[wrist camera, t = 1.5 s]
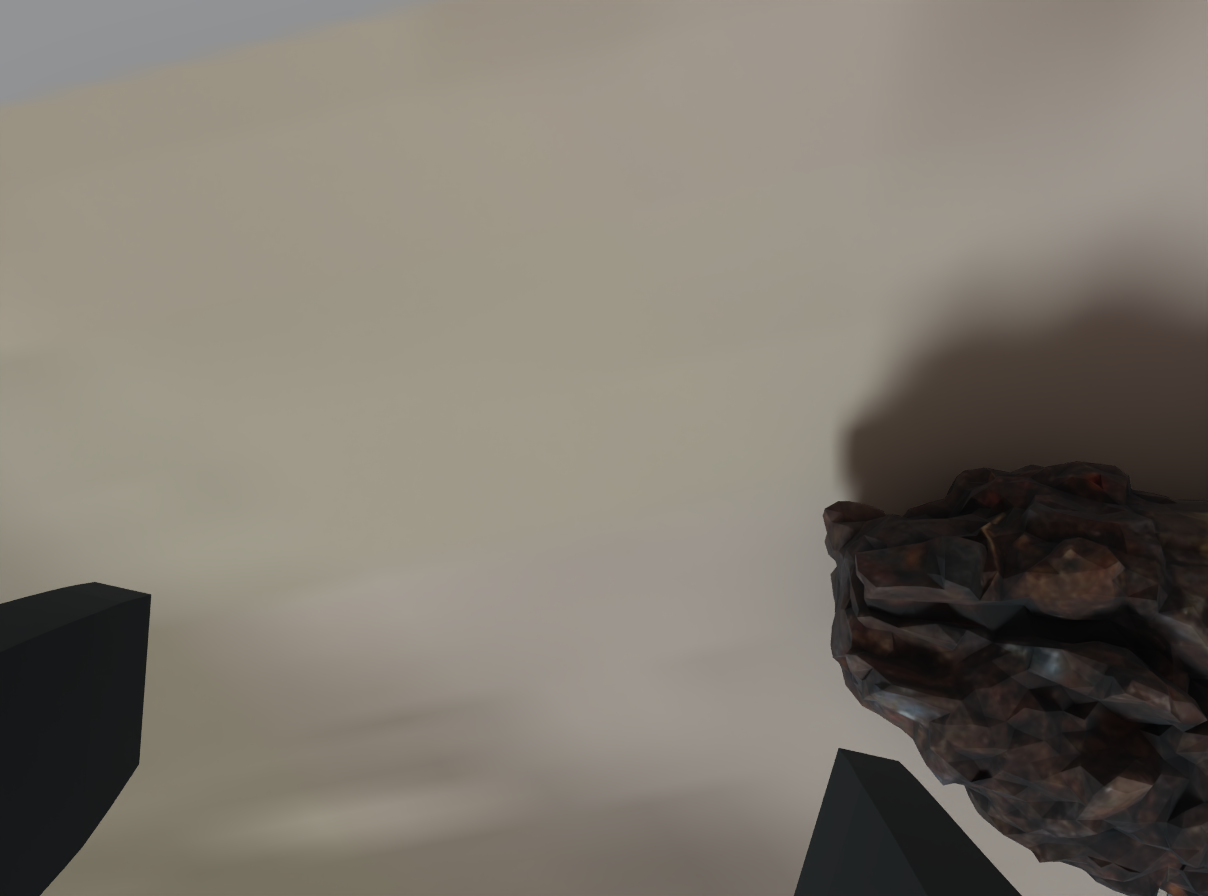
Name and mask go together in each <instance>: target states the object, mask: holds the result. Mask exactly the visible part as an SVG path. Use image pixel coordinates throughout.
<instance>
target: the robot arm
mask: <svg viewBox="0 0 1208 896" xmlns="http://www.w3.org/2000/svg"><path fill="white" fill-rule="evenodd" d="M150 604H151V594H146V593H142V592H137V591H133V590H128V589H124V588H119V587H115V586H110V585H106V584H101V583H97V582H92V583H86V584H80V585H74V586H69V587H65V588H60V589H56V590H52V591H48V592H44V593H40V594H36V595H32V596H28V597H24V598H21V599H17V600H13V601H10V602H6V603H2V604H0V896H40V895H41V894H42V893H43V891H44V890H45V889H46V888H47V887H48V886H49V885H50V883H51V882H52V881H53V880H54V879H55V878H56V877H57V876H58V874H59V873H60V872H61V871H62V870H63V869H64V868H65V867H66V865H67V864H68V863H69V862H70V861H71V860H72V858H73V857H74V856H75V855H76V854H77V853H78V851H79V850H80V849H81V848H82V847H83V845H84V844H85V843H86V841H87V840H88V838H89V837H90V836H91V834H92V833H93V831H94V830H95V829H96V827H97V826H98V824H99V823H100V821H101V820H102V819H103V817H104V816H105V814H106V813H107V812H108V810H109V809H110V807H111V806H112V804H113V803H114V801H115V800H116V798H117V797H118V795H119V794H120V792H121V791H122V789H123V788H124V786H125V785H126V783H127V782H128V780H129V779H130V777H131V776H132V774H133V772H134V771H135V769H136V768H137V766H138V765H139V758H140V744H141V730H142V716H143V702H144V688H145V674H146V660H147V646H148V632H149V618H150ZM794 896H1022V895H1021V894H1020V893H1019V892H1018V891H1017V890H1016V889H1015V888H1014V887H1013V886H1012V885H1011V884H1010V882H1009V881H1008V880H1007V879H1006V878H1005V877H1004V876H1003V875H1002V874H1001V873H1000V872H999V870H998V869H997V868H996V867H995V866H994V865H993V864H992V863H991V862H990V860H989V859H988V858H987V857H986V856H985V855H984V854H983V853H982V852H981V850H980V849H979V848H978V847H977V846H976V845H975V844H974V843H973V841H972V840H971V839H970V838H969V837H968V836H967V835H966V834H965V832H964V831H963V830H962V829H961V828H960V827H959V826H958V825H957V823H956V822H955V821H954V820H953V819H952V818H951V817H950V815H949V814H948V813H947V812H946V811H945V810H944V809H943V808H942V806H941V805H940V804H939V803H938V802H937V801H936V800H935V799H934V798H933V796H932V795H931V794H930V793H929V792H928V791H927V790H926V789H925V788H924V786H923V785H922V784H921V783H920V782H919V781H918V780H917V779H916V778H915V777H914V776H913V775H912V774H911V773H910V772H909V771H908V770H907V769H906V768H905V767H904V766H903V765H902V764H901V763H900V762H899V761H895V760H891V759H886V758H882V757H877V756H873V755H868V754H864V753H859V752H855V751H851V750H846V749H842V748H839V749H838V752H837V755H836V759H835V762H834V765H833V769H832V772H831V775H830V779H829V782H828V785H827V788H826V792H825V795H824V798H823V802H822V805H821V808H820V812H819V815H818V818H817V821H816V825H815V828H814V831H813V835H812V838H811V841H810V845H809V848H808V851H807V855H806V858H805V861H804V864H803V868H802V871H801V874H800V878H799V881H798V884H797V888H796V891H795V894H794Z"/></svg>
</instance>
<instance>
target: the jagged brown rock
mask: <svg viewBox="0 0 1208 896" xmlns="http://www.w3.org/2000/svg"><path fill="white" fill-rule="evenodd" d="M823 518H824V522H825V526H826V530H827V535H826V539H825V544H826V548H827V551H828V554H829V555H830V556H831V557H832V558H833V559H834V560H835V561H836V564H837V567H836V568H835V570H834V571H833V572H832V573H831V580H832V588H833V596H834V600H835V617H834V621H833V625H832V634H831V650H832V655H833V658H834V659H835V660H837V661H838V662H839V664H840V666H841V668H842V672H843V676H844V680H845V684H846V686H847V687H848V688H849V690H850V691H851V692H852V693H853V695H854V696H855V697H856V698H857V700H858V701H859V702H860V703H861V705H862V706H864V707H865V708H867V709H869V710H871V711H873V712H875V713H877V714H879V715H880V716H882V717H883V718H885V719H886V720H888V721H889V722H891V723H892V724H894V725H896V726H897V727H899V728H901V729H902V730H903V731H904V732H905V733H907V734H908V735H909V736H910V737H911V738H912V739H913V740H914V742H915V744H916V746H917V748H918V750H919V752H920V754H921V756H922V758H923V760H924V761H925V763H926V765H927V766H928V767H929V769H930V770H931V771H932V772H933V774H934V775H935V776H936V777H937V779H938V780H939V781H940V782H941V783H942V785H947V784H952V783H957V784H961V785H964V786H965V788H966V791H967V793H968V796H969V798H970V800H971V801H972V803H973V805H974V807H975V809H976V811H977V812H978V813H979V814H980V815H981V816H982V817H983V818H984V819H985V820H986V821H987V822H989V823H990V824H991V825H992V826H993V827H995V828H996V829H997V830H998V831H1000V832H1001V833H1002V834H1003V835H1005V836H1007V837H1008V838H1010V839H1012V840H1014V841H1016V842H1018V843H1019V844H1021V845H1023V846H1025V847H1026V848H1028V849H1030V850H1031V851H1032V852H1033V853H1034V855H1035V856H1036V858H1037V859H1038V861H1039V862H1040V863H1041V862H1063V863H1066V864H1069V865H1072V866H1075V867H1078V868H1081V869H1083V870H1084V871H1086V872H1087V873H1088V874H1089V875H1090V876H1091V877H1092V878H1093V879H1094V880H1095V881H1096V882H1098V883H1100V884H1102V885H1104V886H1106V887H1108V888H1110V889H1112V890H1114V891H1117V892H1120V893H1123V894H1125V895H1128V896H1157V894H1158V890H1159V888H1160V889H1162V890H1164V891H1166V892H1167V893H1169V894H1171V895H1172V896H1208V501H1194V500H1171V499H1170V498H1168V497H1166V496H1161V495H1157V494H1152V493H1147V492H1142V491H1137V490H1132V489H1131V486H1130V480H1129V476H1128V475H1127V474H1125V473H1124V472H1123V471H1121V470H1120V469H1118V468H1117V467H1116V466H1110V465H1102V464H1094V463H1086V462H1078V461H1077V462H1071V463H1066V464H1060V465H1055V466H1049V467H1045V468H1044V467H1040V466H1035V465H1029V466H1026V467H1024V468H1021V469H1019V470H1016V471H1014V472H1012V473H1008V472H1003V471H999V470H994V469H989V468H980V469H974V470H967V471H963V472H962V473H961V474H960V475H959V476H958V477H957V478H956V480H955V481H954V483H953V485H952V486H951V488H950V490H949V491H948V495H947V496H946V497H945V498H944V499H942V500H939V501H935V502H931V503H928V504H925V505H922V506H919V507H916V508H912V509H909V510H908V511H907V512H906V514H905V515H904V516H903V517H901V516H898V515H894V514H891V515H887V516H886V514H885V513H884V511H881V510H879V509H877V508H875V507H872V506H869V505H865V504H862V503H856V502H850V501H838V502H836V503H834V504H833V505H831V506H829V507H827V508H825V510H824V514H823Z"/></svg>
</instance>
